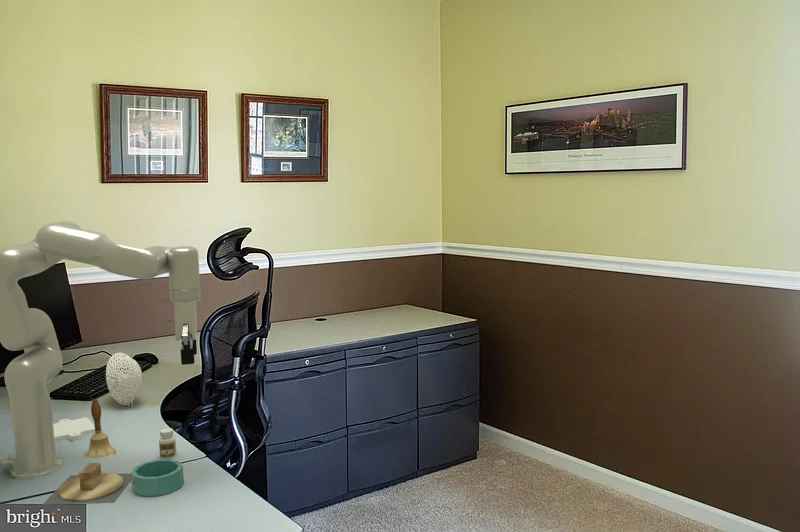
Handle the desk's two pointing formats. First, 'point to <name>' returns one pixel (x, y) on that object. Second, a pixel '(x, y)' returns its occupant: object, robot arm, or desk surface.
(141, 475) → the bowl
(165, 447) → the pill bottle
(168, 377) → the desk surface
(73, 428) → the mounting plate
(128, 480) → the mat
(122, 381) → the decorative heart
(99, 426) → the hand bell
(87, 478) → the lid
